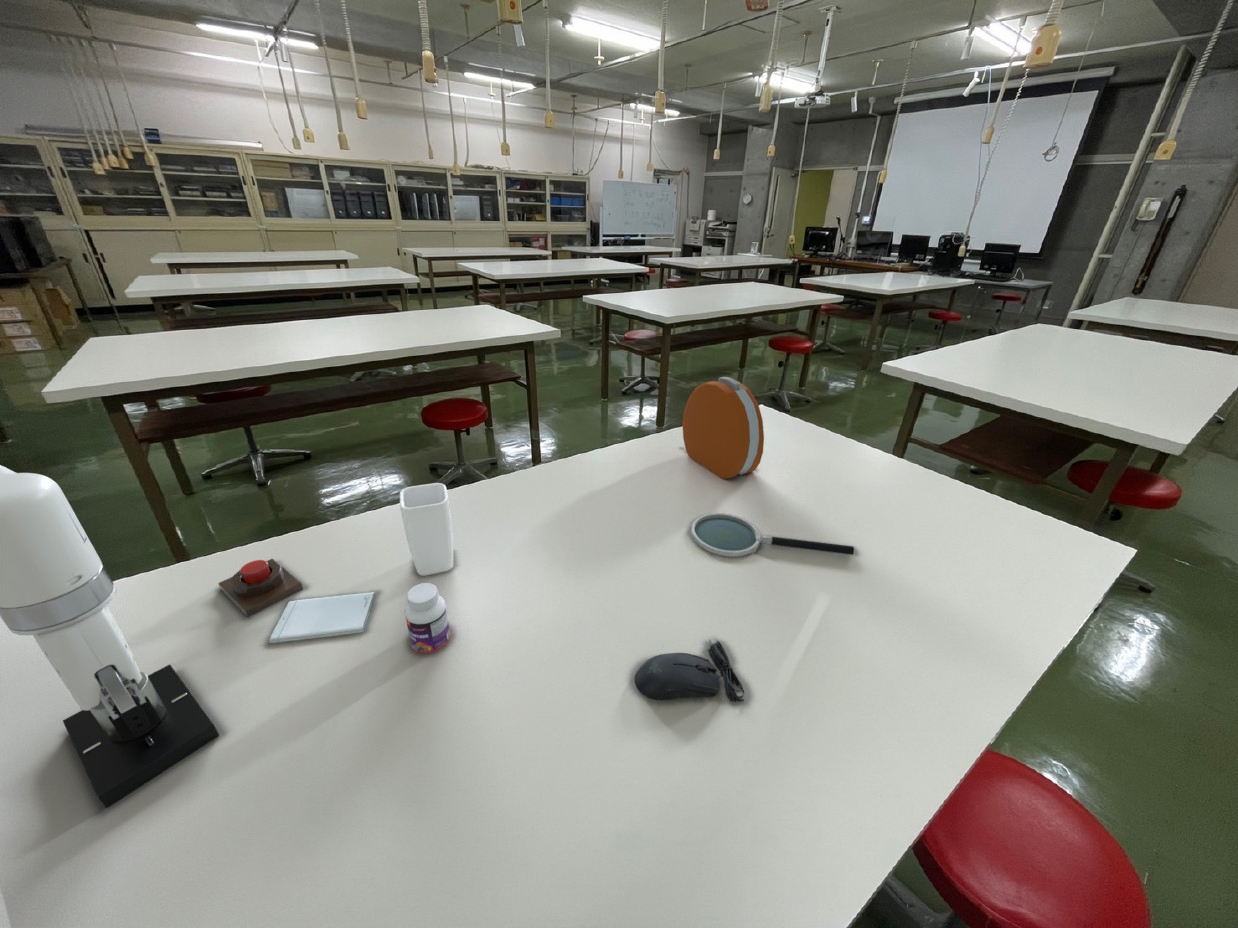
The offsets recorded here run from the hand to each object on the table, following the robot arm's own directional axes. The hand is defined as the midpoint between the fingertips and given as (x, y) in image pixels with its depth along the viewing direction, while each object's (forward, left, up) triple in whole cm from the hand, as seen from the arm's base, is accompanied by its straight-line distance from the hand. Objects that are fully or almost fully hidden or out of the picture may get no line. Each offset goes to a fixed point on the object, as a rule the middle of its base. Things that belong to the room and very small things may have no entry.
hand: (134, 715), depth 57 cm
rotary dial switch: (0, 0, -4) cm, 4 cm away
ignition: (-16, +19, -4) cm, 25 cm away
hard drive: (-2, +22, -4) cm, 23 cm away
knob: (0, 0, -1) cm, 1 cm away
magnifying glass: (+45, +84, -4) cm, 95 cm away
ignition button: (-16, +19, -1) cm, 25 cm away
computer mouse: (+47, +46, -4) cm, 66 cm away
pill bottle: (+14, +29, -4) cm, 33 cm away
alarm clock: (+22, +110, -4) cm, 112 cm away
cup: (0, +40, -4) cm, 40 cm away
